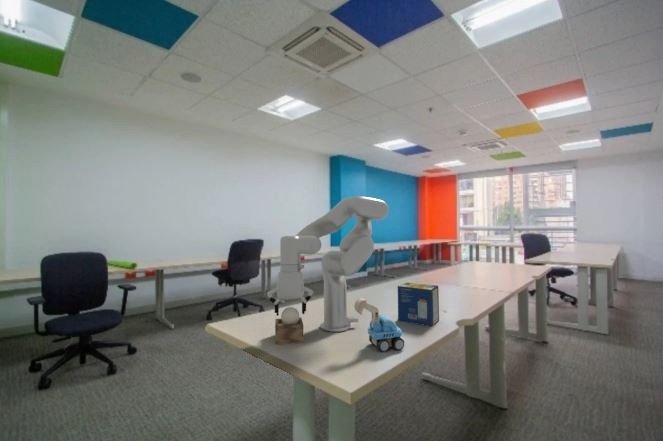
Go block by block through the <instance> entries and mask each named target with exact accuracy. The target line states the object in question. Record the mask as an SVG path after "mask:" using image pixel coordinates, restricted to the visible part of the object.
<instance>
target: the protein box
mask: <svg viewBox="0 0 663 441" xmlns="http://www.w3.org/2000/svg"><path fill="white" fill-rule="evenodd" d="M439 299H440V298H439V285H435V284H434V285H433V284H422V283H413V282H405V283H402V284H399V285H397V321H400V322H405V323H410V322H412V323H411V324H415V323H417V324H416V325H421V324H424V325H423V326H426V325H431V326H430V327H433V326H434V325H435V324H437V323H438V322H439V321H440V308H439V307H440V303H439ZM437 321H438V322H437ZM433 324H434V325H433ZM432 325H433V326H432Z"/></svg>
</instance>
